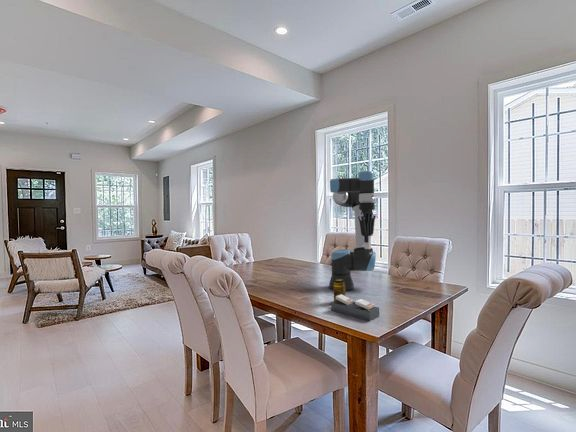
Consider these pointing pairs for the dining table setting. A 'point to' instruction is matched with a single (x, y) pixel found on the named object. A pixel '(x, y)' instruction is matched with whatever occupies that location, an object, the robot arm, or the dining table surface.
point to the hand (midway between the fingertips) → (367, 248)
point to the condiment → (339, 288)
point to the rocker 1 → (344, 299)
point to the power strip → (355, 310)
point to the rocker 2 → (364, 304)
